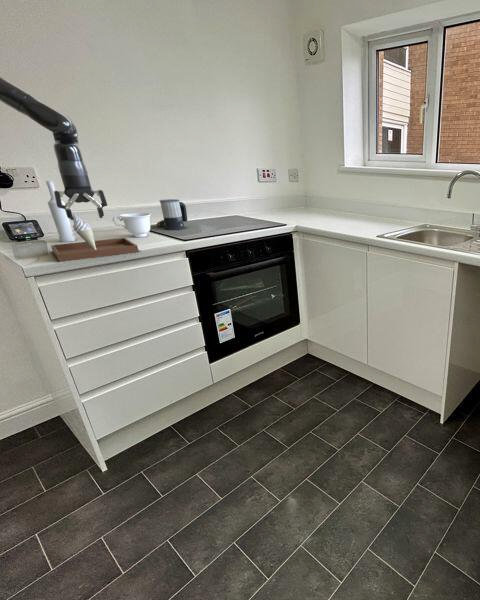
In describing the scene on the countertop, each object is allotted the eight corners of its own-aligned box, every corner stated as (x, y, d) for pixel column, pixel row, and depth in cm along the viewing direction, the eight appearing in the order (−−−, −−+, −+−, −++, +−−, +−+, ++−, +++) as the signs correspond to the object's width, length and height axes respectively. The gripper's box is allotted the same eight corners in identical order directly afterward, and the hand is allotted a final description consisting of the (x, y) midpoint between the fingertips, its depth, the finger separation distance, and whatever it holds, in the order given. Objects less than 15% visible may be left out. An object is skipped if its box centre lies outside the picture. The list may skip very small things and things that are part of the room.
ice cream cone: (88, 251, 139) (65, 214, 132) (103, 247, 141) (81, 210, 135) (87, 253, 135) (64, 214, 128) (103, 248, 138) (81, 211, 131)
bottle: (76, 239, 158) (58, 180, 148) (75, 241, 154) (57, 181, 145) (60, 240, 154) (41, 180, 145) (59, 242, 151) (40, 181, 142)
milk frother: (180, 230, 185) (174, 201, 179) (148, 229, 183) (141, 200, 177) (191, 225, 198) (186, 198, 193) (161, 225, 196) (155, 197, 190)
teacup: (116, 235, 167) (110, 214, 163) (153, 232, 176) (148, 212, 172) (118, 240, 158) (112, 217, 155) (157, 236, 168) (152, 215, 164)
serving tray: (59, 261, 124) (57, 254, 123) (52, 251, 136) (50, 245, 135) (138, 251, 141) (137, 245, 140) (126, 243, 153) (125, 237, 152)
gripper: (96, 173, 135) (108, 216, 141) (46, 173, 125) (60, 219, 131) (100, 174, 131) (112, 218, 136) (48, 174, 121) (63, 221, 126)
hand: (86, 218), depth 134 cm, fingers open, 8 cm apart
